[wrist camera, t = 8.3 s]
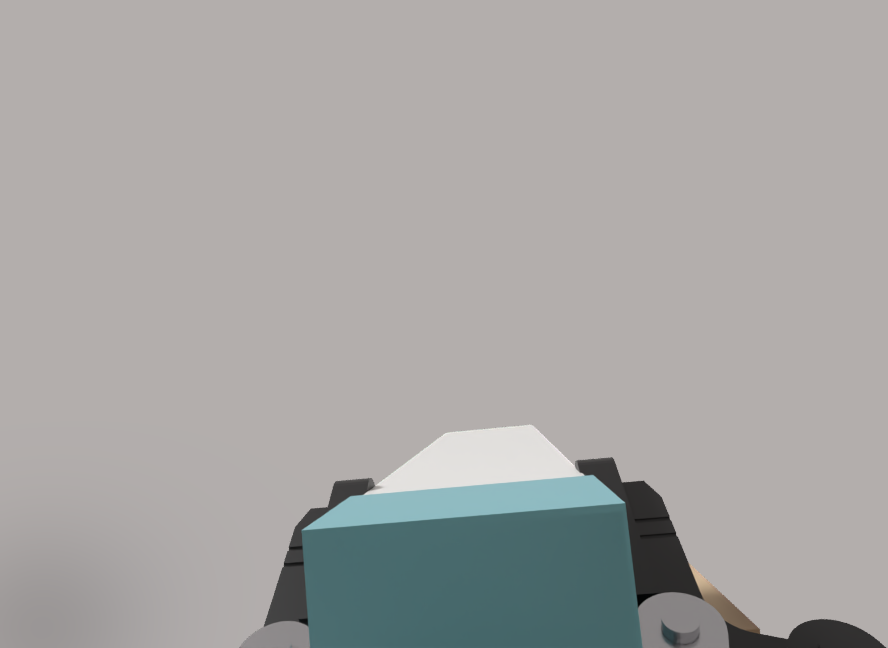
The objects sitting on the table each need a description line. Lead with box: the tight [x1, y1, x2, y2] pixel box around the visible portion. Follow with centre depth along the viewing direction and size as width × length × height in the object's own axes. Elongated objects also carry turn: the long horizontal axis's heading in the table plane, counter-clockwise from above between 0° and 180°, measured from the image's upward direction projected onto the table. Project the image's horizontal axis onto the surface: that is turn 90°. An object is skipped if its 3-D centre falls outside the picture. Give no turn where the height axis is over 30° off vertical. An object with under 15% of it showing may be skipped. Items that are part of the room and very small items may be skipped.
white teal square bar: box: [302, 425, 643, 648], centre depth 21 cm, size 4×24×4 cm, turn 176°
